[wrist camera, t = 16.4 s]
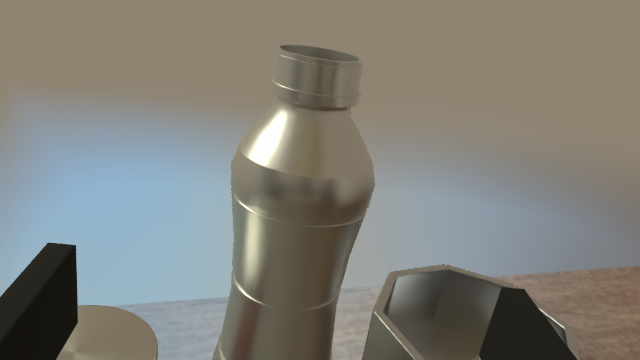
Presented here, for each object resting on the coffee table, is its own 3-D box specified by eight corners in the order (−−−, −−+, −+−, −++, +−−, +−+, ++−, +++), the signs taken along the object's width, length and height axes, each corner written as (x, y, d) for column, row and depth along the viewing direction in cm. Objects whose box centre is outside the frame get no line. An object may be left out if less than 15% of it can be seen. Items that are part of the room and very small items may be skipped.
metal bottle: (252, 355, 32) (293, 36, 25) (345, 408, 29) (421, 65, 22) (179, 420, 27) (204, 38, 20) (283, 492, 24) (357, 76, 17)
